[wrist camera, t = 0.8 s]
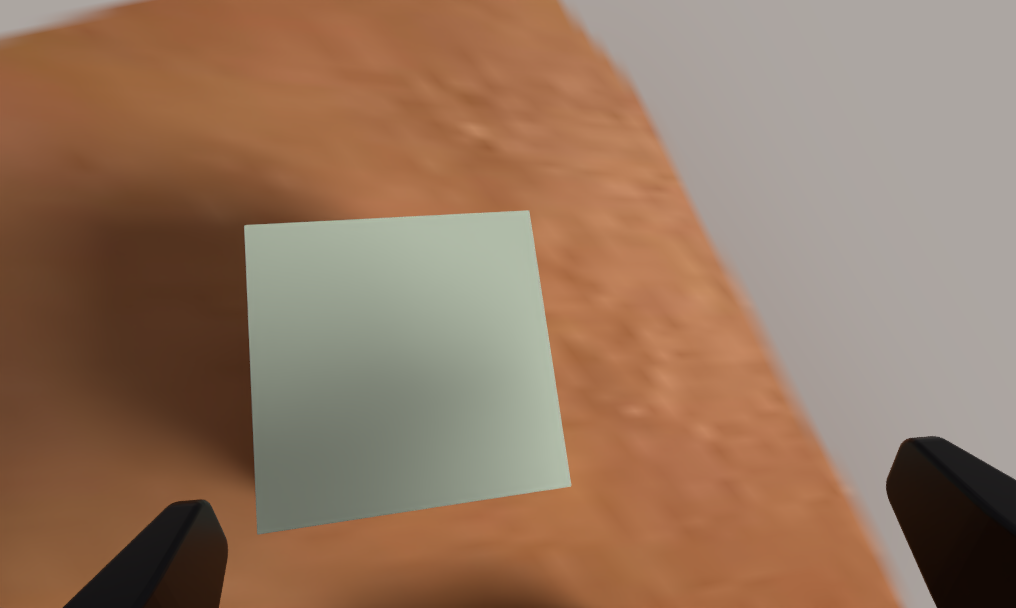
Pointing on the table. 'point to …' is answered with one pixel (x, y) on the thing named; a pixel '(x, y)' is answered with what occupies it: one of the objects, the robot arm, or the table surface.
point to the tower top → (398, 367)
